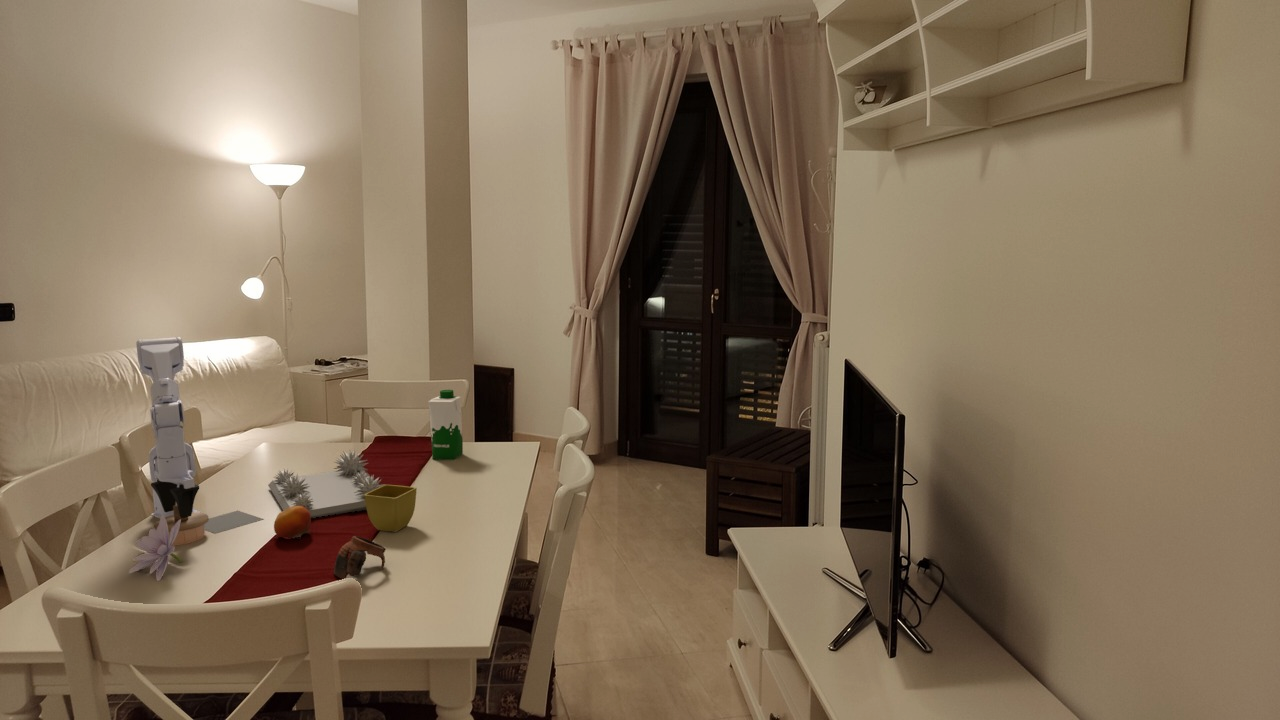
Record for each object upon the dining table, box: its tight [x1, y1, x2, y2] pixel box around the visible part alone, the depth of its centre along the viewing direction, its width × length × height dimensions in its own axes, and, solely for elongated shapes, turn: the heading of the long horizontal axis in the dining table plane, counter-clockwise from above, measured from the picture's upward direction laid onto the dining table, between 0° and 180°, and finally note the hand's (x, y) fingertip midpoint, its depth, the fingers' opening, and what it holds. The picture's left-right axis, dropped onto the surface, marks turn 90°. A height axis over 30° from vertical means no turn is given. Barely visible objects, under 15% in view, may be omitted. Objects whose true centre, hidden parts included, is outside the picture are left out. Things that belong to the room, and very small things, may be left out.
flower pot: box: [364, 484, 417, 533], centre depth 205 cm, size 9×9×9 cm
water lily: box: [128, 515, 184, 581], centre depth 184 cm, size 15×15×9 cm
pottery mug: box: [333, 535, 386, 580], centre depth 179 cm, size 12×10×8 cm
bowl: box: [153, 525, 206, 547], centre depth 201 cm, size 10×10×4 cm
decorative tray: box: [268, 449, 386, 519], centre depth 230 cm, size 35×26×10 cm
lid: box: [153, 505, 209, 532], centre depth 201 cm, size 11×11×4 cm
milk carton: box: [427, 389, 464, 461], centre depth 268 cm, size 9×9×20 cm
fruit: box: [273, 506, 312, 539], centre depth 202 cm, size 8×8×8 cm
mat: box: [204, 510, 265, 535], centre depth 212 cm, size 12×12×1 cm
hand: (177, 513), depth 201 cm, fingers open, 7 cm apart
